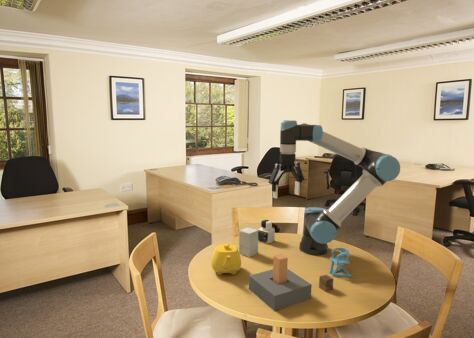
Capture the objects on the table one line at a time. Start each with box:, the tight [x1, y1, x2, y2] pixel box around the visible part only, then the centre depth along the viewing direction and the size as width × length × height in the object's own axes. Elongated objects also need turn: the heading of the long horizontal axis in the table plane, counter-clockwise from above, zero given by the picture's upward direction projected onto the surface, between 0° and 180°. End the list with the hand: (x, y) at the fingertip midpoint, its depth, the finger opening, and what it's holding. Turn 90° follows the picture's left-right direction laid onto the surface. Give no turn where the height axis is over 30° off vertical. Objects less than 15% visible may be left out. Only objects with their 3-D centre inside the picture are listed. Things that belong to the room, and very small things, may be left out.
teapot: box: [210, 243, 242, 276], centre depth 157 cm, size 14×20×13 cm
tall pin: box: [272, 253, 289, 285], centre depth 139 cm, size 4×4×16 cm
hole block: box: [248, 268, 312, 311], centre depth 140 cm, size 18×18×6 cm
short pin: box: [318, 274, 334, 293], centre depth 145 cm, size 4×4×5 cm
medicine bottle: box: [257, 219, 276, 245], centre depth 196 cm, size 7×7×12 cm
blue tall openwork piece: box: [328, 247, 352, 278], centre depth 158 cm, size 8×8×12 cm
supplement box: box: [238, 226, 259, 258], centre depth 178 cm, size 7×7×13 cm
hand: (286, 196), depth 168 cm, fingers open, 13 cm apart
